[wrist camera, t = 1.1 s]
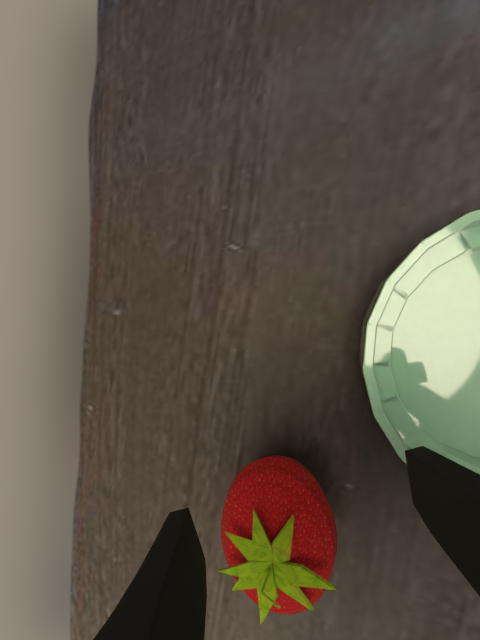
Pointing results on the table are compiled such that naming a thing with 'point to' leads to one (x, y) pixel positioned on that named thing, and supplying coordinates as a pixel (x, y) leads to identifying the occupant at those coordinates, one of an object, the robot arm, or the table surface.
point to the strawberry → (278, 535)
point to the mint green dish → (428, 346)
